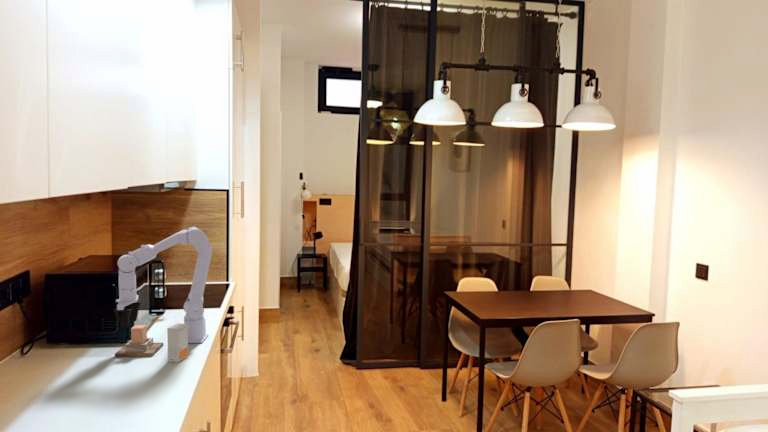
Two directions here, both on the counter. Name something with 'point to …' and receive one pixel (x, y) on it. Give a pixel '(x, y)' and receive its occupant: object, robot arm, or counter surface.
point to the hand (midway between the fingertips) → (128, 324)
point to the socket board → (139, 349)
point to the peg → (139, 334)
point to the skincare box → (177, 342)
